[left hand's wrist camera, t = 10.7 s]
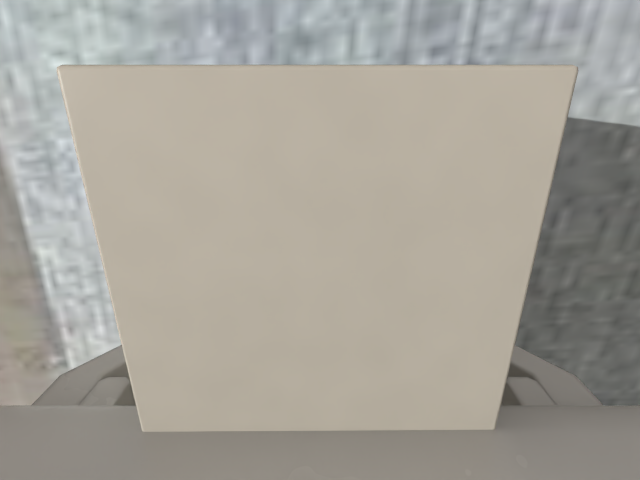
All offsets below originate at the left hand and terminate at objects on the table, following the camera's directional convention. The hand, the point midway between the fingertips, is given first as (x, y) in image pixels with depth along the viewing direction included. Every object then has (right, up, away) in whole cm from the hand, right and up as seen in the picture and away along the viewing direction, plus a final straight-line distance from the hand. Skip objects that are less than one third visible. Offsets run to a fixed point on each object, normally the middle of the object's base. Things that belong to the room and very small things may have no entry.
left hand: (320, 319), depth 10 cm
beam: (0, -20, +11) cm, 23 cm away
